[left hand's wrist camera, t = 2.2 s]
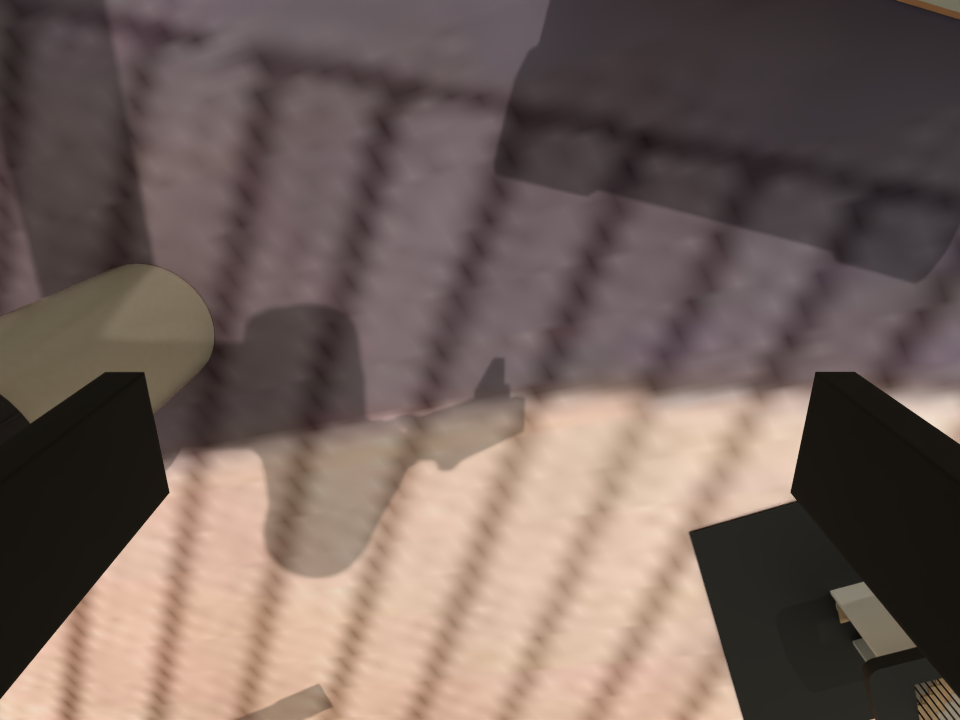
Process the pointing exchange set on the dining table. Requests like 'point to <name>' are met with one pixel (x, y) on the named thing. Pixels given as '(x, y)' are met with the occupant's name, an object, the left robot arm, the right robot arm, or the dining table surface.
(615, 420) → the dining table surface
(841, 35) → the dining table surface
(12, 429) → the lid
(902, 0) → the organizer
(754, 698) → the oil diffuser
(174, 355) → the jar
